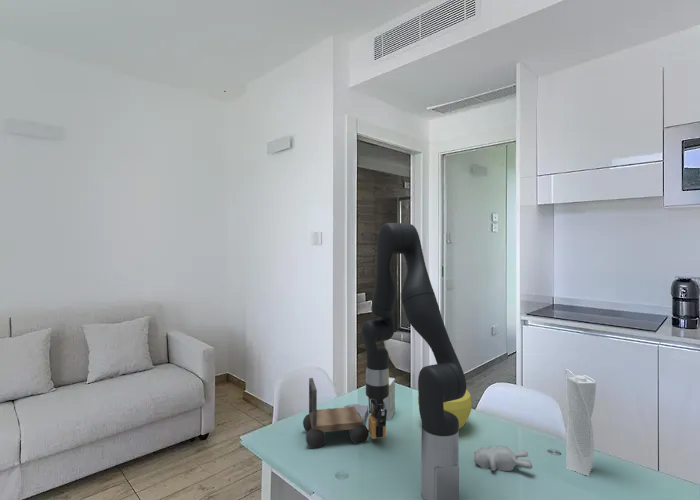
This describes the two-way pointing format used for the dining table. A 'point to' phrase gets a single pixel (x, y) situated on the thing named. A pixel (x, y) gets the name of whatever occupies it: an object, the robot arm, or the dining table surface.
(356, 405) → the stone block
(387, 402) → the small box
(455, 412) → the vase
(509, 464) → the bunny figurine
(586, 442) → the skyscraper
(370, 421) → the block
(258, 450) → the dining table surface
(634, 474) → the dining table surface
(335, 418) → the trolley
